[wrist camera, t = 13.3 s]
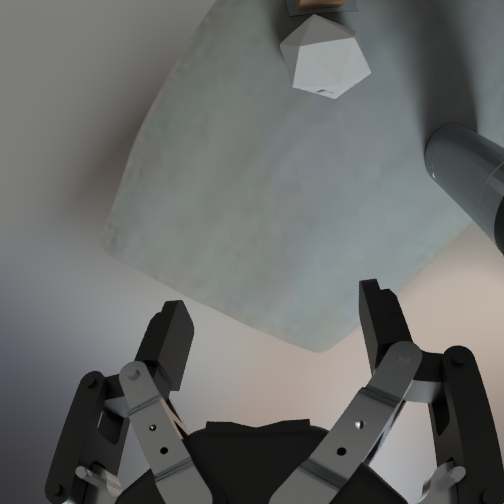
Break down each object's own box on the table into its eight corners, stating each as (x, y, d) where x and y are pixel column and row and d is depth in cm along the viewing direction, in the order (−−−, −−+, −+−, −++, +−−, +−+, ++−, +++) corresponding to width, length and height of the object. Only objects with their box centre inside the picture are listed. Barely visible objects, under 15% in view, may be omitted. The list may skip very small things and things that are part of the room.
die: (264, 52, 31) (279, 107, 28) (296, -7, 24) (323, 36, 20) (326, 70, 35) (349, 125, 31) (362, 20, 27) (398, 69, 23)
